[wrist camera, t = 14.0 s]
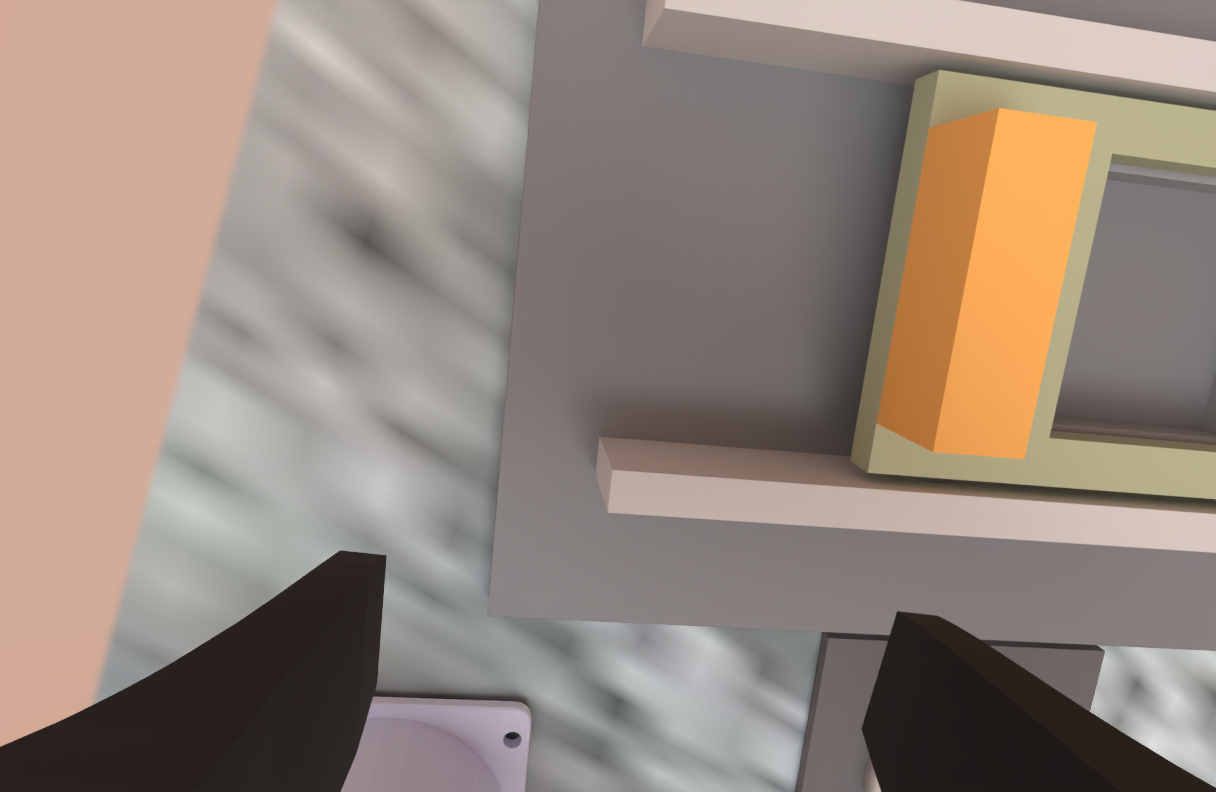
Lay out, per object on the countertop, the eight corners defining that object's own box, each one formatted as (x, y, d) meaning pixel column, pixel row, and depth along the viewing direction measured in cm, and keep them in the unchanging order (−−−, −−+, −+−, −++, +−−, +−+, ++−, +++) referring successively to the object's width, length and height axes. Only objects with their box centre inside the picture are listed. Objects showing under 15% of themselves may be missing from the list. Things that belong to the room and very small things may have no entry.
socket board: (1266, 638, 25) (1406, 712, 21) (489, 599, 21) (481, 678, 18) (1460, -29, 21) (1675, -91, 17) (555, -194, 18) (565, -318, 14)
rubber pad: (1035, 889, 26) (1043, 899, 25) (778, 888, 24) (783, 899, 24) (1095, 644, 24) (1104, 651, 24) (823, 631, 23) (828, 638, 22)
